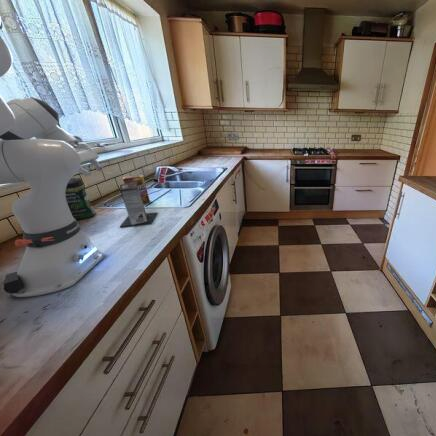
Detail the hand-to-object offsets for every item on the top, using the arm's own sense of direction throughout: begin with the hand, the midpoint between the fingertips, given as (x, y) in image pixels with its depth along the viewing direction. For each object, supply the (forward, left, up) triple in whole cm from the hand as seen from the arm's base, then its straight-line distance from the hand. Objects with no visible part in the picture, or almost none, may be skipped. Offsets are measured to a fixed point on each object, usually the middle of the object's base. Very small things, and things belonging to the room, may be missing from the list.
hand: (95, 172), depth 93 cm
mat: (-1, -10, -23) cm, 25 cm away
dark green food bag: (+11, +17, -23) cm, 31 cm away
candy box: (+21, -5, -23) cm, 32 cm away
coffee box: (-2, -11, -23) cm, 25 cm away
